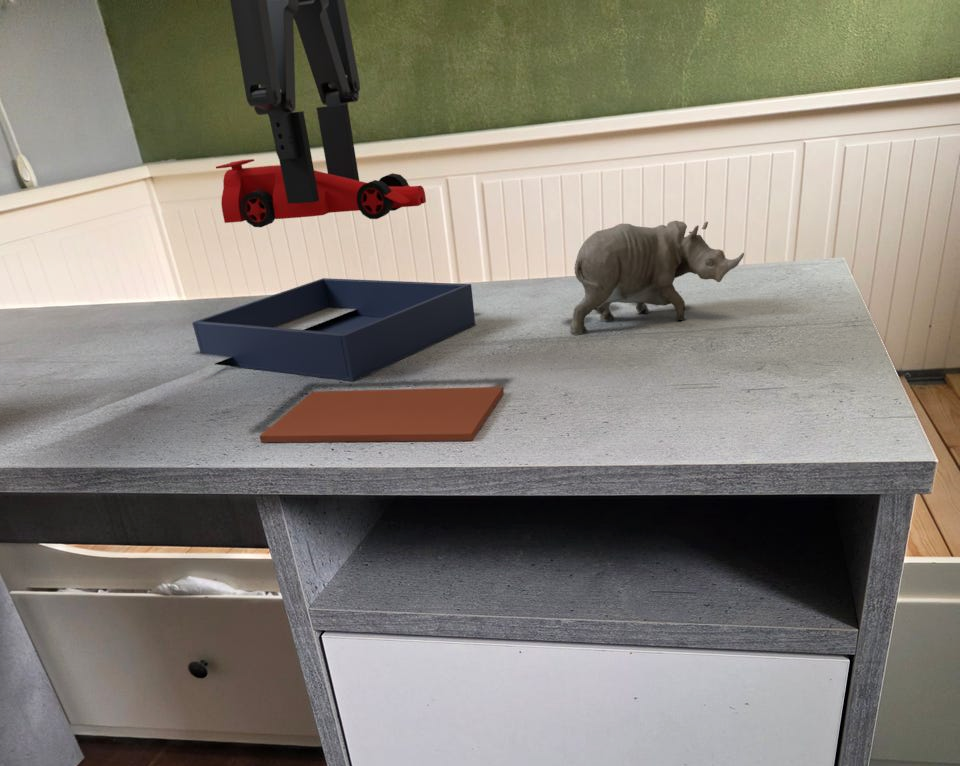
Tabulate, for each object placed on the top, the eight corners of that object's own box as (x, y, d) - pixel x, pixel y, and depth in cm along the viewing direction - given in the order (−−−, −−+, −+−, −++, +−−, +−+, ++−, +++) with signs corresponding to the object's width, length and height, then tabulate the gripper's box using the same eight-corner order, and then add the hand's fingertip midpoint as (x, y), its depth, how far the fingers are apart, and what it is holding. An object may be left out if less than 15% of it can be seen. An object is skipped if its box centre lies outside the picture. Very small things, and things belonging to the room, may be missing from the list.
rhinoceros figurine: (537, 295, 94) (619, 159, 86) (640, 357, 98) (727, 233, 90) (543, 320, 88) (632, 175, 80) (653, 385, 92) (747, 254, 84)
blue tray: (202, 362, 95) (191, 322, 93) (330, 314, 108) (323, 278, 106) (353, 381, 83) (345, 335, 81) (475, 325, 97) (471, 283, 94)
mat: (260, 442, 72) (258, 435, 71) (313, 397, 80) (312, 391, 80) (472, 440, 67) (471, 433, 67) (503, 393, 76) (503, 386, 75)
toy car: (411, 217, 73) (402, 148, 70) (225, 230, 78) (210, 166, 75) (433, 205, 78) (426, 141, 75) (256, 218, 83) (243, 158, 80)
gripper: (224, -187, 56) (301, 212, 68) (371, -147, 70) (412, 177, 83) (134, -163, 58) (223, 216, 71) (293, -129, 73) (344, 181, 85)
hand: (325, 195), depth 77 cm, fingers closed on toy car, 6 cm apart
